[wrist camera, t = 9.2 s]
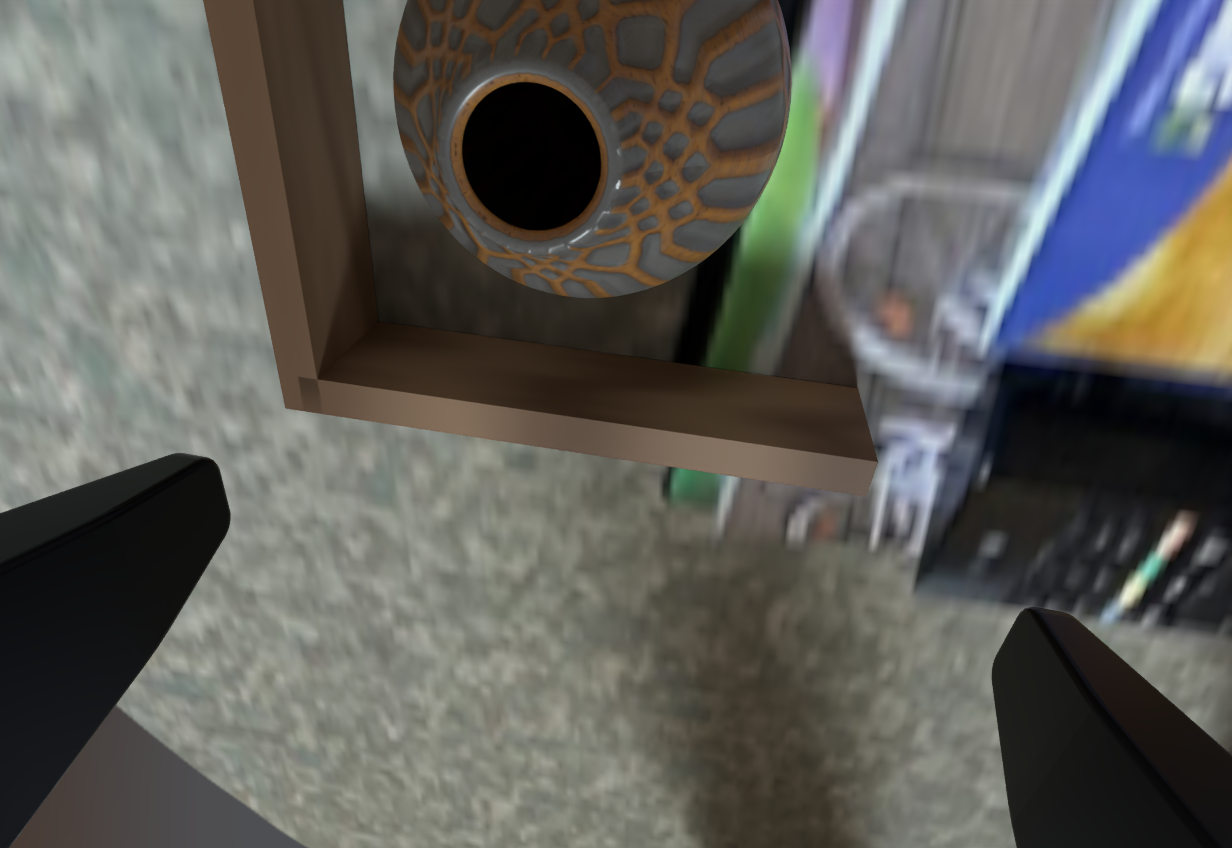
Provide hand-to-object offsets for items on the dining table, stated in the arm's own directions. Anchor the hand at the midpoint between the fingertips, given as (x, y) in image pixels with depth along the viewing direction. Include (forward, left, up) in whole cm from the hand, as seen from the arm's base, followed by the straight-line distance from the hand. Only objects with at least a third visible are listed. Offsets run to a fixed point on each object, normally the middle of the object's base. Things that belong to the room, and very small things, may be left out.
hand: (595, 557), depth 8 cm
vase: (+2, -3, -12) cm, 13 cm away
